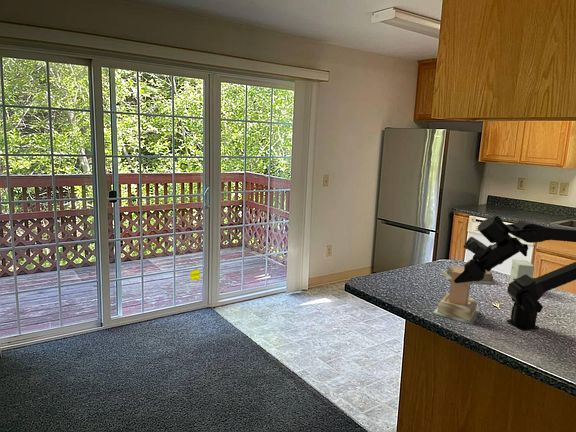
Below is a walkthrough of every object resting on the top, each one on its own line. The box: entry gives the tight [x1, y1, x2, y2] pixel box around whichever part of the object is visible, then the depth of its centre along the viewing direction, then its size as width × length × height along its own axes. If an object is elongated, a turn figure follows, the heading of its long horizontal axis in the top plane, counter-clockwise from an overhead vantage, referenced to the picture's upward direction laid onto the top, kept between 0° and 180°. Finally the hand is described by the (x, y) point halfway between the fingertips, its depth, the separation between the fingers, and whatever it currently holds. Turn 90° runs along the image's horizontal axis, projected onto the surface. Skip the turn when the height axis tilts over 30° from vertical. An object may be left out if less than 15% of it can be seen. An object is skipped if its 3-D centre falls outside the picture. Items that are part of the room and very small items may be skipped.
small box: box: [508, 258, 535, 285], centre depth 166 cm, size 8×6×10 cm
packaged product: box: [442, 265, 496, 285], centre depth 175 cm, size 18×5×10 cm
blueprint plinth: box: [432, 293, 481, 325], centre depth 140 cm, size 12×12×4 cm
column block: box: [448, 268, 472, 307], centre depth 139 cm, size 5×5×11 cm
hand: (458, 278), depth 139 cm, fingers open, 9 cm apart
